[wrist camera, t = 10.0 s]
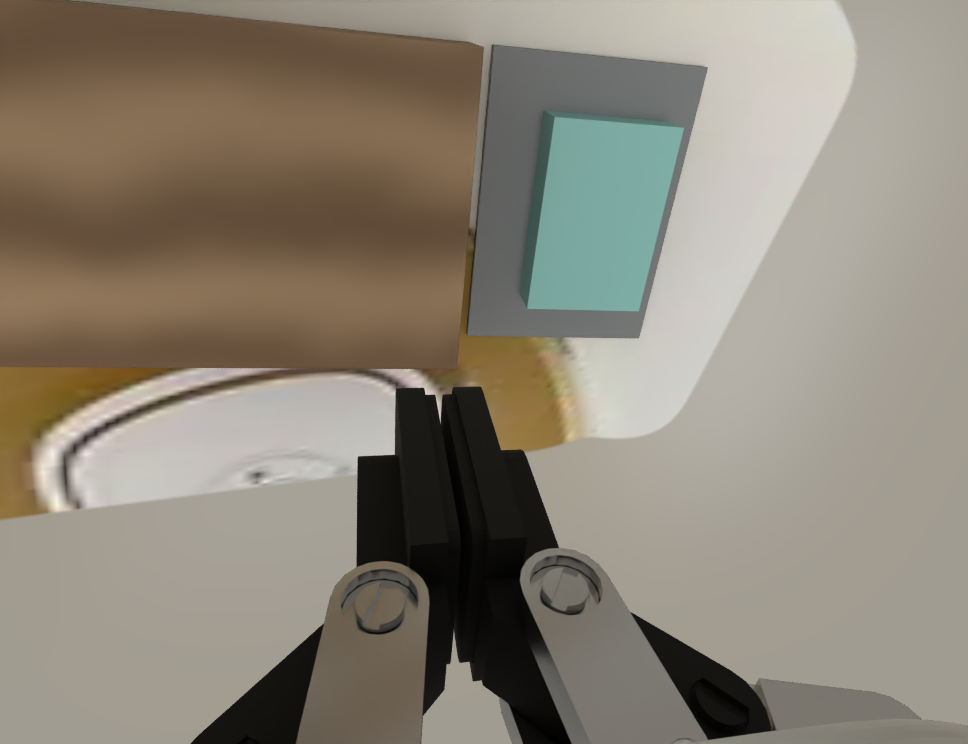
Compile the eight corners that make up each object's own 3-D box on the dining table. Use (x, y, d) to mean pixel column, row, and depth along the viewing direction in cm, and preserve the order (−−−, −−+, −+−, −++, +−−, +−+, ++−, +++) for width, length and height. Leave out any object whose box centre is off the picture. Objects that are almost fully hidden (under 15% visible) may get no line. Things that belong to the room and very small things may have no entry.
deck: (-63, -14, 22) (-142, -18, 19) (469, 42, 26) (484, 47, 22) (41, 325, 29) (-2, 366, 26) (448, 332, 33) (456, 369, 29)
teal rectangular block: (684, 127, 27) (665, 120, 28) (554, 117, 26) (543, 110, 27) (638, 311, 31) (625, 295, 33) (527, 308, 30) (519, 292, 32)
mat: (492, 44, 26) (494, 45, 26) (703, 66, 28) (707, 67, 27) (466, 332, 33) (467, 335, 33) (636, 335, 35) (638, 338, 34)
